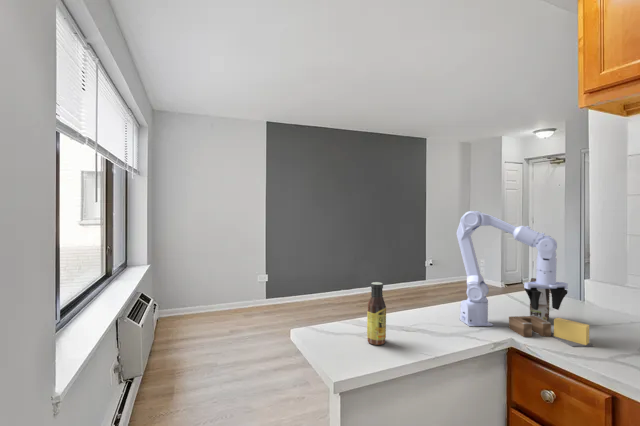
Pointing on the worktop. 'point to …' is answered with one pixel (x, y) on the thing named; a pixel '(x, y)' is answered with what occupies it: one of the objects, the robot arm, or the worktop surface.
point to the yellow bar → (571, 331)
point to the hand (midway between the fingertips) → (545, 308)
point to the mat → (570, 342)
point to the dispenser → (529, 326)
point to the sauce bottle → (376, 315)
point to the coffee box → (541, 304)
